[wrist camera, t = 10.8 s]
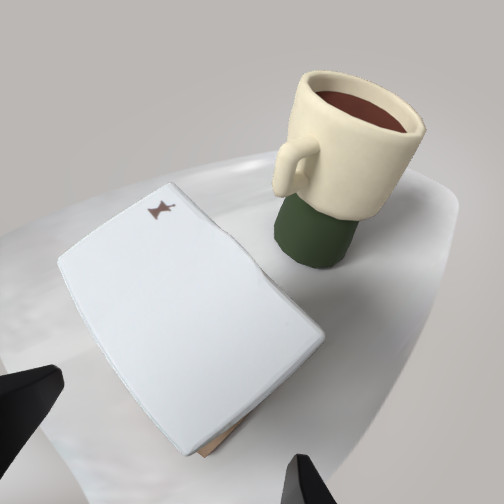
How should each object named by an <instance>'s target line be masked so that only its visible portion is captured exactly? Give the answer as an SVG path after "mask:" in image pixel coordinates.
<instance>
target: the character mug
mask: <svg viewBox="0 0 504 504" xmlns="http://www.w3.org/2000/svg"><path fill="white" fill-rule="evenodd" d="M425 132H426V128H425V125H424V122H423V120H422V118H421V117H420V116H419V115H418V113H417V112H416V111H415V110H414V109H413V108H412V107H411V106H410V105H409V104H408V103H406V102H405V101H404V100H402V99H401V98H400V97H398V96H397V95H396V94H394V93H392V92H390V91H388V90H387V89H385V88H383V87H381V86H379V85H377V84H375V83H373V82H370V81H368V80H365V79H362V78H359V77H357V76H353V75H349V74H345V73H340V72H335V71H325V70H316V71H311V72H308V73H305V74H303V76H302V78H301V80H300V82H299V85H298V88H297V91H296V96H295V101H294V106H293V108H292V111H291V115H290V120H289V127H288V138H287V142H286V143H284V144H283V145H281V147H280V149H279V151H278V154H277V159H276V164H275V169H274V175H273V180H272V187H273V191H274V194H275V196H277V197H281V198H283V197H286V198H285V200H284V202H283V204H282V206H281V208H280V211H279V213H278V216H277V219H276V221H275V224H274V239H275V240H276V242H277V243H278V245H279V246H280V248H281V249H282V251H283V252H285V253H286V254H287V255H288V256H290V257H291V258H292V259H294V260H295V261H296V262H298V263H300V264H304V265H307V266H310V267H313V268H324V267H332V266H333V265H335V264H336V263H337V262H338V261H340V260H341V259H342V258H343V257H344V255H345V253H346V251H347V249H348V247H349V245H350V243H351V241H352V238H353V235H354V233H355V230H356V228H357V225H358V222H359V221H361V220H364V219H367V218H370V217H373V216H375V215H376V214H377V213H378V212H379V211H380V209H381V208H382V206H383V205H384V204H385V202H386V201H387V199H388V198H389V196H390V195H391V193H392V191H393V190H394V188H395V186H396V185H397V183H398V181H399V180H400V178H401V176H402V175H403V173H404V171H405V169H406V168H407V166H408V164H409V162H410V161H411V159H412V157H413V155H414V154H415V152H416V150H417V148H418V146H419V144H420V143H421V141H422V139H423V137H424V134H425Z"/></svg>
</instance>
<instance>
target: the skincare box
mask: <svg viewBox="0 0 504 504" xmlns="http://www.w3.org/2000/svg"><path fill="white" fill-rule="evenodd" d="M57 263H58V266H59V268H60V271H61V273H62V275H63V278H64V280H65V283H66V285H67V287H68V289H69V292H70V294H71V296H72V298H73V300H74V302H75V304H76V307H77V309H78V311H79V313H80V315H81V316H82V318H83V320H84V322H85V324H86V326H87V328H88V329H89V331H90V333H91V334H92V336H93V338H94V339H95V341H96V343H97V344H98V346H99V348H100V349H101V351H102V352H103V354H104V355H105V357H106V358H107V360H108V361H109V363H110V364H111V366H112V367H113V369H114V370H115V372H116V373H117V375H118V376H119V377H120V379H121V380H122V382H123V383H124V385H125V386H126V387H127V389H128V390H129V391H130V393H131V394H132V395H133V397H134V398H135V399H136V401H137V402H138V403H139V405H140V406H141V407H142V409H143V410H144V411H145V412H146V414H147V415H148V416H149V417H150V418H151V420H152V421H153V422H154V423H155V424H156V425H157V427H158V428H159V429H160V430H161V431H162V432H163V433H164V435H165V436H166V437H167V438H168V439H169V440H170V441H171V442H172V443H173V445H174V446H175V447H176V448H177V449H178V450H179V451H180V452H181V453H182V454H183V455H184V456H190V455H192V454H194V453H195V452H197V451H198V450H200V449H201V448H203V447H204V446H206V445H207V444H209V443H210V442H211V441H213V440H214V439H216V438H217V437H218V436H220V435H221V434H222V433H224V432H225V431H226V430H228V429H229V428H230V427H232V426H233V425H234V424H235V423H237V422H238V421H239V420H240V419H242V418H243V417H244V416H245V415H247V414H248V413H249V412H250V411H251V410H253V409H254V408H255V407H256V406H257V405H259V404H260V403H261V402H262V401H263V400H264V399H266V398H267V397H268V396H269V395H270V394H271V393H272V392H273V391H275V390H276V389H277V388H278V387H279V386H280V385H281V384H282V383H283V382H284V381H286V380H287V379H288V378H289V377H290V376H291V375H292V374H293V373H294V372H295V371H296V370H297V369H298V368H299V367H300V366H301V365H302V364H303V363H304V362H305V361H306V360H307V359H308V358H309V357H310V356H311V355H312V354H313V353H314V352H315V351H316V350H317V349H318V347H319V346H320V345H321V344H322V343H323V342H324V341H325V332H324V331H323V329H322V328H321V327H320V326H319V325H318V324H317V323H316V322H315V321H314V320H313V319H312V318H311V317H310V316H309V315H308V314H307V313H306V312H305V311H304V310H303V309H302V308H301V307H300V306H298V305H297V304H296V303H295V302H294V301H293V300H292V299H291V298H290V297H289V296H288V295H287V294H286V293H285V292H284V291H283V290H282V289H281V288H280V287H279V286H278V285H277V284H276V283H275V282H274V281H273V280H272V279H271V278H270V277H269V276H268V275H267V274H266V273H265V272H264V271H263V270H262V269H261V268H260V266H259V265H258V264H257V263H256V262H255V260H254V259H253V258H252V257H251V256H250V254H249V253H248V252H247V251H246V250H245V249H244V248H243V247H242V246H241V245H240V244H239V243H238V242H237V241H236V240H235V239H234V238H233V237H232V236H231V235H230V234H228V233H227V232H225V231H224V230H222V229H221V228H220V227H219V226H218V225H217V224H216V223H215V222H214V221H213V220H212V219H211V218H209V217H208V216H207V215H206V214H205V213H204V212H203V211H202V210H201V209H200V208H199V207H198V206H197V205H196V204H195V203H194V202H193V201H192V200H191V199H190V198H189V197H188V196H187V195H186V194H185V193H184V192H183V191H182V190H180V189H179V188H178V187H177V186H176V185H175V184H174V183H172V182H169V183H167V184H165V185H163V186H162V187H160V188H159V189H157V190H155V191H154V192H152V193H150V194H149V195H147V196H146V197H144V198H142V199H141V200H139V201H138V202H136V203H134V204H133V205H131V206H130V207H128V208H127V209H125V210H124V211H122V212H120V213H119V214H117V215H116V216H114V217H113V218H111V219H110V220H108V221H107V222H105V223H104V224H102V225H101V226H100V227H98V228H97V229H95V230H94V231H92V232H91V233H90V234H88V235H87V236H85V237H84V238H83V239H81V240H80V241H79V242H77V243H76V244H75V245H73V246H72V247H71V248H70V249H69V250H67V251H66V252H65V253H64V254H63V255H61V256H60V257H59V259H58V262H57Z"/></svg>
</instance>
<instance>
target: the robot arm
mask: <svg viewBox="0 0 504 504" xmlns="http://www.w3.org/2000/svg"><path fill="white" fill-rule="evenodd" d="M63 388H64V379H63V375H62V371H61V369H60V368H58V367H57V366H55V365H47V366H43V367H39V368H34V369H30V370H25V371H21V372H16V373H12V374H7V375H2V376H0V479H1V478H2V476H3V475H4V473H5V472H6V470H7V469H8V467H9V466H10V464H11V463H12V462H13V460H14V459H15V457H16V456H17V454H18V453H19V452H20V450H21V449H22V447H23V446H24V445H25V443H26V442H27V441H28V439H29V438H30V437H31V435H32V434H33V433H34V431H35V430H36V429H37V427H38V426H39V425H40V424H41V422H42V421H43V420H44V418H45V417H46V416H47V414H48V413H49V411H50V410H51V408H52V406H53V405H54V403H55V401H56V400H57V398H58V396H59V395H60V393H61V392H62V390H63ZM281 504H337V503H336V502H335V500H334V499H333V497H332V495H331V493H330V492H329V490H328V488H327V487H326V485H325V483H324V482H323V480H322V478H321V477H320V475H319V473H318V471H317V470H316V468H315V466H314V465H313V463H312V461H311V459H310V458H309V456H308V455H305V454H296V455H295V456H294V457H293V459H292V460H291V461H290V463H289V464H288V467H287V470H286V476H285V482H284V488H283V493H282V498H281Z"/></svg>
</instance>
